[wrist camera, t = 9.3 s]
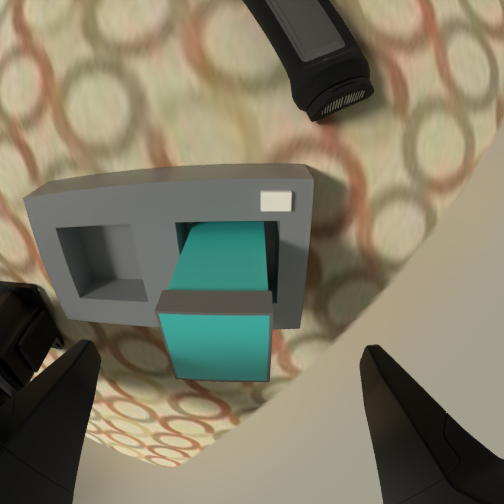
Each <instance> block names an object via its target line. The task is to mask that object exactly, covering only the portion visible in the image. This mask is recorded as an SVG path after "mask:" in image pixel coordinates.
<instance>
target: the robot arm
mask: <svg viewBox="0 0 504 504" xmlns="http://www.w3.org/2000/svg"><path fill="white" fill-rule="evenodd" d="M64 345H65V344H64V342H63V340H62V338H61V336H60V334H59V332H58V331H57V329H56V327H55V325H54V323H53V321H52V319H51V317H50V315H49V313H48V311H47V309H46V307H45V305H44V303H43V301H42V298H41V296H40V294H39V292H38V290H37V288H36V287H35V286H34V285H31V284H18V283H6V282H0V504H72V502H73V495H74V494H73V493H74V488H75V482H76V476H77V471H78V466H79V461H80V455H81V450H82V446H83V442H84V437H85V433H86V429H87V425H88V421H89V417H90V413H91V409H92V405H93V401H94V397H95V392H96V386H97V380H98V374H99V369H100V364H101V357H100V354H99V353H98V351H97V349H96V347H95V345H94V343H93V342H92V341H91V340H84V339H82V340H80V341H79V342H77V343H76V344H75V345H74V346H72V347H71V348H70V349H69V350H68V351H66V352H65V353H64V354H63V355H62V356H60V357H59V358H58V359H57V360H55V361H54V362H53V363H52V364H51V365H49V366H48V367H47V368H46V369H45V370H43V371H42V372H41V373H40V374H39V375H38V376H36V377H35V378H34V379H33V380H32V381H30V380H31V378H32V376H33V374H34V373H35V372H38V370H39V368H40V367H41V365H42V363H43V361H44V359H45V357H46V356H47V354H48V352H49V350H50V348H56V349H63V347H64ZM360 375H361V382H362V390H363V398H364V407H365V412H366V417H367V421H368V426H369V430H370V435H371V439H372V444H373V449H374V454H375V459H376V464H377V469H378V474H379V480H380V486H381V492H382V498H383V504H504V459H501V458H499V457H497V456H496V455H495V454H493V453H492V452H491V451H490V450H489V449H487V448H486V447H485V446H484V445H482V444H481V443H480V442H479V441H477V440H476V439H475V438H473V436H471V435H470V434H469V433H468V432H467V431H466V430H464V429H463V428H462V427H461V426H460V425H459V424H458V423H457V422H456V421H455V420H454V419H453V418H452V417H451V416H450V415H449V414H448V413H446V411H445V410H444V409H443V408H442V407H441V406H440V405H439V404H438V403H437V402H436V401H435V400H434V399H433V398H432V397H431V396H430V395H429V394H428V393H427V392H426V391H425V390H424V389H423V388H422V387H421V386H420V385H419V384H418V383H417V382H416V381H415V380H414V379H413V378H412V377H411V376H410V375H409V374H408V373H407V372H406V371H405V370H404V369H403V368H402V367H401V366H400V365H399V364H398V363H397V362H396V361H395V360H394V359H393V358H392V357H391V356H390V355H389V354H388V353H387V352H386V351H385V350H383V348H382V347H380V346H379V345H368V346H366V348H365V349H364V352H363V355H362V358H361V360H360Z"/></svg>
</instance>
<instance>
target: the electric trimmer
mask: <svg viewBox="0 0 504 504" xmlns="http://www.w3.org/2000/svg"><path fill="white" fill-rule="evenodd" d="M243 1H244V3H245V4H246V6H247V7H248V9H249V10H250V12H251V13H252V15H253V16H254V17H255V19H256V20H257V22H258V24H259V25H260V27H261V28H262V30H263V31H264V33H265V34H266V36H267V37H268V39H269V41H270V42H271V44H272V46H273V48H274V49H275V51H276V53H277V55H278V57H279V58H280V60H281V62H282V64H283V66H284V68H285V70H286V72H287V74H288V77H289V79H290V83H291V91H292V97H293V100H294V102H295V103H296V105H297V107H298V108H299V109H300V110H303V111H306V112H307V115H308V117H309V118H310V120H311V121H312V122H313V121H317V120H319V119H321V118H323V117H325V116H327V115H330V114H332V113H334V112H336V111H339V110H341V109H343V108H345V107H348V106H350V105H352V104H355V103H357V102H360V101H362V100H364V99H366V98H368V97H370V96H371V95H372V94H373V93H374V88H373V86H372V84H371V82H370V80H369V78H370V70H369V65H368V62H367V60H366V59H365V57H364V55H363V53H362V52H361V50H360V48H359V46H358V45H357V43H356V41H355V39H354V38H353V36H352V34H351V33H350V31H349V29H348V28H347V26H346V25H345V23H344V21H343V20H342V18H341V17H340V15H339V14H338V12H337V11H336V10H335V8H334V7H333V5H332V4H331V3H330V1H329V0H243Z"/></svg>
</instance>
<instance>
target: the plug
mask: <svg viewBox="0 0 504 504" xmlns="http://www.w3.org/2000/svg"><path fill="white" fill-rule="evenodd" d="M155 314H156V318H157V321H158V325H159V328H160V332H161V335H162V338H163V342H164V345H165V348H166V351H167V354H168V357H169V360H170V363H171V366H172V369H173V372H174V375H175V378H176V379H183V380H198V381H221V382H270V365H271V348H272V329H273V302H272V291H268V281H267V265H266V249H265V234H264V221H210V222H194V223H193V226H192V228H191V231H190V233H189V235H188V238H187V240H186V243H185V245H184V248H183V250H182V253H181V255H180V258H179V260H178V263H177V265H176V268H175V271H174V273H173V276H172V278H171V281H170V284H169V286H168V289H167V290H162V293H161V295H160V298H159V301H158V303H157V306H156V308H155Z"/></svg>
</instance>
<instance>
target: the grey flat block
mask: <svg viewBox="0 0 504 504" xmlns="http://www.w3.org/2000/svg"><path fill="white" fill-rule="evenodd" d="M313 191H314V178H313V177H312V175H311V173H310V172H309V170H308V169H307V167H306V166H305V164H218V165H195V166H178V167H164V168H152V169H141V170H130V171H121V172H112V173H104V174H96V175H89V176H81V177H75V178H68V179H62V180H56V181H50V182H48V183H46V184H44V185H43V186H41V187H40V188H38V189H36V190H35V191H33V192H32V193H30V194H29V195H27V196H26V197H24V198H23V199H24V203H25V207H26V210H27V214H28V217H29V221H30V224H31V227H32V231H33V234H34V237H35V240H36V243H37V246H38V249H39V252H40V255H41V257H42V260H43V263H44V266H45V268H46V271H47V273H48V276H49V278H50V281H51V283H52V286H53V288H54V290H55V293H56V295H57V297H58V300H59V302H60V304H61V306H62V309H63V311H64V313H65V315H66V317H67V319H71V320H80V321H89V322H99V323H109V324H121V325H134V326H149V327H159V325H158V321H157V318H156V314H155V308H156V306H157V303H158V301H159V298H160V295H161V293H162V290H167V289H168V286H169V284H170V281H171V278H172V276H173V273H174V271H175V268H176V265H177V263H178V260H179V258H180V255H181V253H182V250H183V248H184V245H185V243H186V240H187V238H188V235H189V233H190V231H191V228H192V226H193V223H194V222H210V221H264V234H265V249H266V265H267V281H268V291H272V302H273V329H300V324H301V317H302V308H303V300H304V291H305V282H306V273H307V263H308V253H309V242H310V231H311V219H312V206H313Z"/></svg>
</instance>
